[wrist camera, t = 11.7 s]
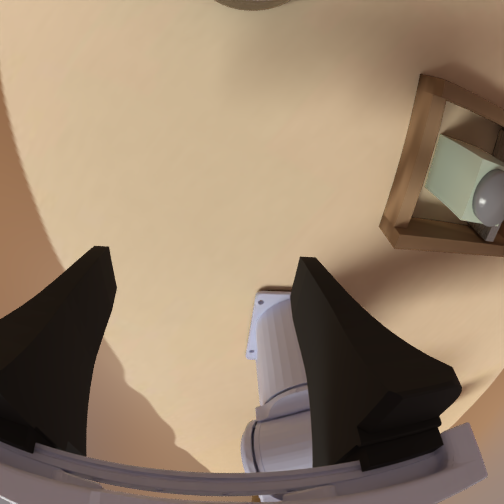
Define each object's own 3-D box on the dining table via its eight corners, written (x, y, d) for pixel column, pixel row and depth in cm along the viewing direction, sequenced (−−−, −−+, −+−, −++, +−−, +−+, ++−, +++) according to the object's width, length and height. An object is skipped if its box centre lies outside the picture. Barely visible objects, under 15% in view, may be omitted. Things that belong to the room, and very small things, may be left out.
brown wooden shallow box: (497, 240, 25) (518, 263, 22) (379, 226, 23) (400, 256, 20) (537, 134, 18) (565, 150, 15) (420, 73, 16) (454, 82, 13)
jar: (462, 194, 22) (503, 232, 17) (424, 186, 22) (467, 226, 17) (477, 146, 19) (525, 177, 15) (439, 133, 19) (490, 163, 14)
